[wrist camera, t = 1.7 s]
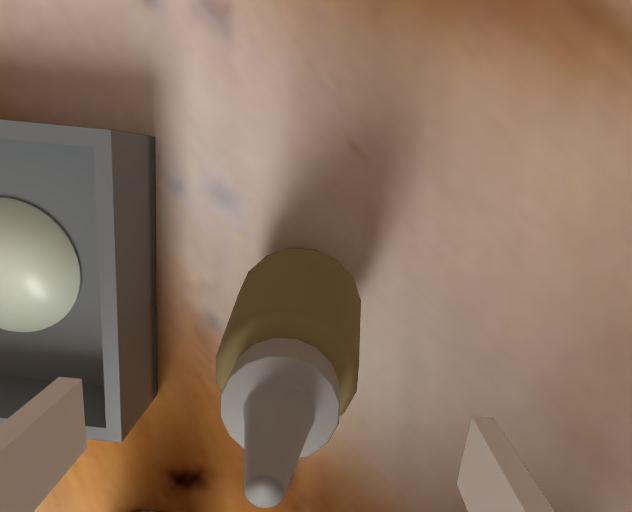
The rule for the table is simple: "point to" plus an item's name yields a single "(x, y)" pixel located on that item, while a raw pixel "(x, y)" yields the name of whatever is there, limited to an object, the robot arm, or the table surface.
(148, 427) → the table surface
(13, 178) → the bin
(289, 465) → the squeeze bottle
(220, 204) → the table surface
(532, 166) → the table surface
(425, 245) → the table surface
